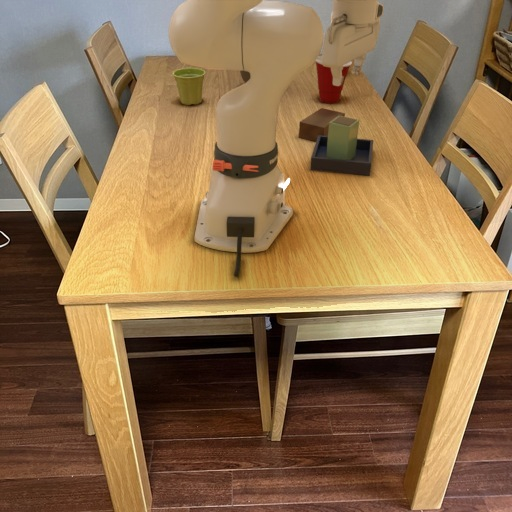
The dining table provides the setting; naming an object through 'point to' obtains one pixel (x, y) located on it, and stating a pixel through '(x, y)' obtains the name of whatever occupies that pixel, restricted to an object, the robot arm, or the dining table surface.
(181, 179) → the dining table surface
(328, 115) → the walnut block
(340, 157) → the green box
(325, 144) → the tray
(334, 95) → the plastic cup
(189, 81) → the plant pot
